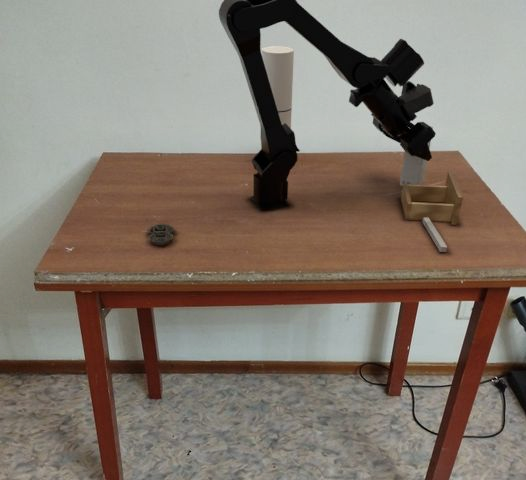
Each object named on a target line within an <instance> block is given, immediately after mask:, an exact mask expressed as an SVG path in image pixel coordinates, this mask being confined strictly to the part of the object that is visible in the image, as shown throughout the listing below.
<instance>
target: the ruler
mask: <svg viewBox="0 0 526 480" xmlns="http://www.w3.org/2000/svg"><path fill="white" fill-rule="evenodd" d="M421 221H422V222H421V223H422V224H423V226H424V228H425V230H426V231H427V233H428V234H429V236H430V237H431V239H432V241H433V242H434V244H435V246H436V247H437V249H438V251H439V252H440V253H447V250H448V245H447V244H446V242H445V241H444V240H443V238H442V236H441V234H440V233H439V231H438V230H437V228H436V227H435V225H434V224H433V221H431V220H430V219H429V217H423V220H421Z"/></svg>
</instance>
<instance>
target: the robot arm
mask: <svg viewBox="0 0 526 480" xmlns="http://www.w3.org/2000/svg"><path fill="white" fill-rule="evenodd" d="M218 17H219V21H220V24H221V26H222V28H223V29H224V31H225V34H226V35H227V38H228V39H229V41H230V42H231V45H232V46H233V48H234V50H235V51H236V54H237V56H238V58H239V61H240V64H241V67H242V70H243V74H244V77H245V81H246V83H247V87H248V89H249V93H250V96H251V100H252V103H253V105H254V109H255V112H256V116H257V119H258V121H259V126H260V146H261V145H262V149H261V148H260V150H259V151H258V152H257V153H256V154H255V155H254V156H253V158H252V159H251V163H252V166H253V168H254V170H256V173H253V176H252V177H253V179H252V181H253V183H252V184H253V193H252V194H253V196H250V197H249V198H250V201H251V202H253V204H254V205H256V207H257V208H259V210H261V211H268V210H272V209H273V210H274V209H278V208H283V207H284V208H285V207H288V206H290V202H289V201H288V198H289V197H288V195H289V180H288V178H289V175H290V172H291V170H292V169H293V168H294V167H295V165H296V164H297V162H298V159H299V158H298V152H300V151H301V150H300V149H299V147H298V145H297V143H296V134H295V132H294V130H293V129H292V127H291V128H290V127H289V126H288V125H287V124H286V123H285V124H283V125H282V124H281V121H280V117H279V114H278V110H277V107H276V103H275V100H274V96H273V93H272V89H271V86H270V82H269V79H268V75H267V72H266V69H265V65H264V62H263V58H262V48H261V40H262V39H261V38H262V36H261V33H262V32H261V29H266V28H269V27H271V26H274V25H277V24H279V23H283V22H284V23H286V24H287V25H288V26H289V27H290V28H291V29H292V30H294V31H295V32H296V33H297V34H298V35H299V36H301V37H302V38H303V39H304V40H305V41H307V43H309V44H310V45H311V46H312V47H314V48H315V49H316V50H317V51H318V52H319V53H320V54H322V56H324V57H325V59H326V60H327V62H328V63H329V65H330V66H331V67H332V69H333V70H334V71H335V72H336V75H338V76H339V78H341V79H342V80H343V81H345V83H347V84H348V85H350V86H352V87H353V88H355V89H350V90H349V93H350V95H349V99H348V103H349V104H351V105H352V106H354V107H355V108H358V107H359V106H360V105H361V104H364V106H365V107H366V108H367V109H368V111H370V115H371V116H372V124H373V126H374V127H375V129H377V130H378V131H379V132H380V133H382V135H384V136H386V138H388V139H391V140H392V141H395V142H396V143H399V146H400V147H401V148H402V149H403V151H404V152H405V151H406V152H407V153H408V154H410V155H411V156H417V157H419V158H422V159H424V160H427V162H430V161H431V159H432V158H433V156H432V152H431V150H430V149H429V146H428V142H430V141H432V140H433V139H434V138H435V137H436V135H437V134H436V131H435V129H434V128H433V129H432V128H431V127H430V126H431V125H429V124H428V123H426V122H425V121H417V122H416V123H415V124H414V123H413V122H414V120H415V119H416V118H417V117H418V116H417V115H416V114H417V113H419V112H421V111H423V110H424V109H426V108H430V107H432V106H433V105H434V104H435V103H434V98H433V94H432V89H431V88H430V87H429V86H427V85H425V84H419V83H417V84H415V83H413V82H412V81H410V79H411V78H413V76H414V75H415V74H416V73H418V71H419V70H420V69H421V68H422V67H423V66H424V65H425V61H424V59H423V57H422V56H421V54H420V53H418V52H417V51H416V50H415V49H414V48H413V47H412V46H411V45H410V44H409V43H408V41H407V40H405V39H403V38H399V40H398V41H397V42H395V44H394V45H393V47H392V48H391V49H390V50H389V51H388V52H387V53H386V55H384V57H383V58H382V59H381V60H380V59H378V58H376V57H372V56H368V55H366V54H364V53H363V52H361V51H359V50H357V49H355V48H353V47H352V46H350V45H349V44H347V43H345V42H343V41H341V40H340V39H339V38H338V37H337V36H336V35H335V34H333V33H332V32H331V31H330V30H329V29H328V28H327V27H325V26H324V25H323V24H322V23H321V22H320V21H319V20H318V19H317V18H315V17H314V16H313V15H312V14H311V13H310V12H309V11H307V9H306V8H304V7H303V6H302V5H301V4H300V3H298V1H297V0H223V1H222V2H221V4H220V7H219V9H218ZM385 79H386V80H385ZM389 84H390V85H391V86H392V87H394V88H396V87H397V85H398V86H399V87H400V88H401V87H402V89H401V93H400V94H401V95H399V96H398V95H397V94H396V93H395V91H394V90H393V89H392V87H390V85H389Z"/></svg>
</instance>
